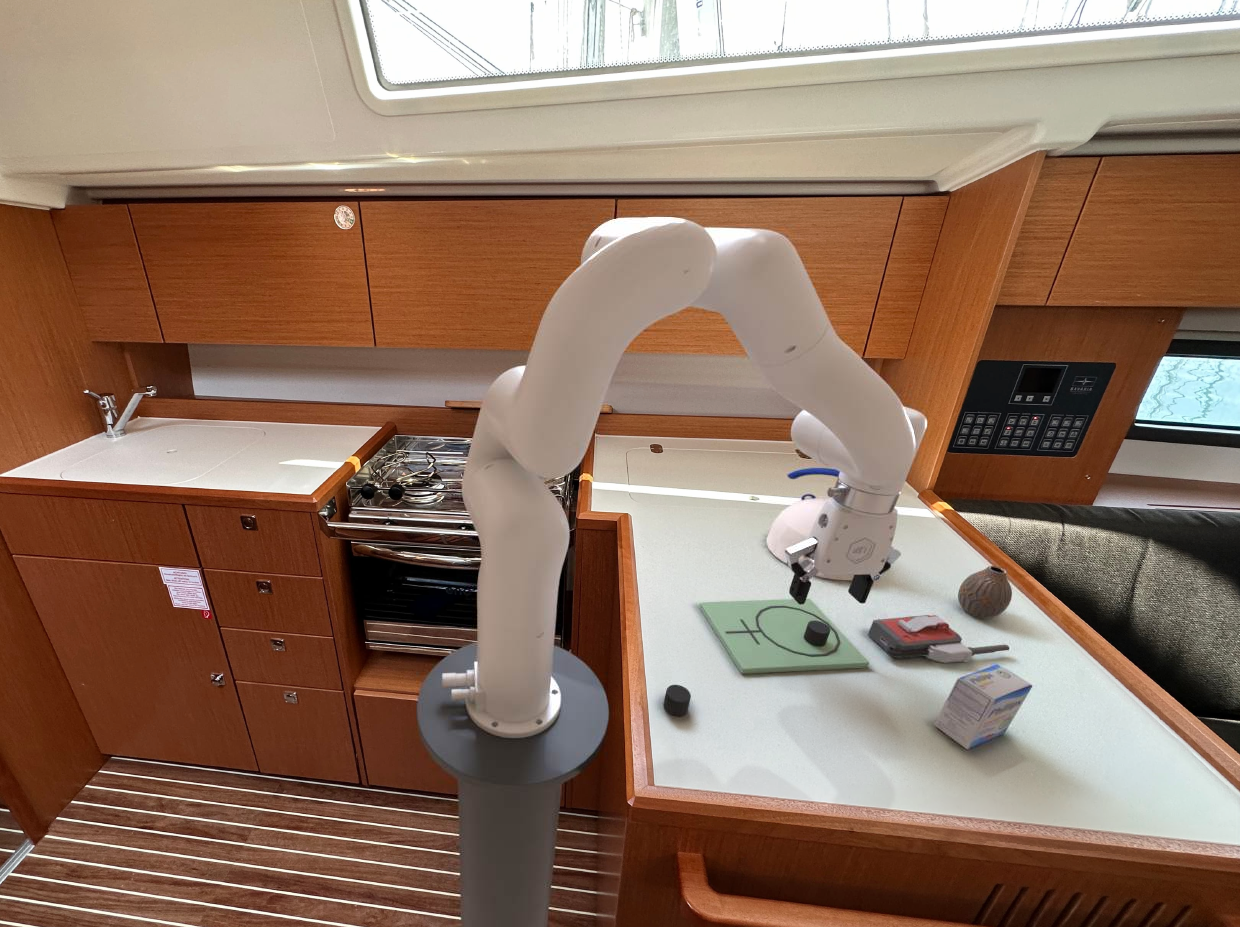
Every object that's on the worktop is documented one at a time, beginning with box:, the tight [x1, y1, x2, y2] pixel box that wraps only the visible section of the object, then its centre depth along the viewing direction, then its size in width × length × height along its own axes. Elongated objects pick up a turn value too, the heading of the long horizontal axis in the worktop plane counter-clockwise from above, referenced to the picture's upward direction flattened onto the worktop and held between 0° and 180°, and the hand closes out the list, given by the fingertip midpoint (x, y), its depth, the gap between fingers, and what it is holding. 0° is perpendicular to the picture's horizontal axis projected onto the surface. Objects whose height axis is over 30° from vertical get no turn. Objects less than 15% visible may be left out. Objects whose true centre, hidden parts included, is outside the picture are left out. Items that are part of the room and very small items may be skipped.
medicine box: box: [934, 663, 1033, 750], centre depth 72 cm, size 8×4×9 cm, turn 112°
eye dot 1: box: [663, 684, 692, 717], centre depth 75 cm, size 3×3×3 cm
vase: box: [957, 565, 1013, 619], centre depth 96 cm, size 7×7×9 cm
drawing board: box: [698, 598, 870, 675], centre depth 90 cm, size 20×16×1 cm
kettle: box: [765, 467, 854, 582], centre depth 109 cm, size 20×21×18 cm
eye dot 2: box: [804, 621, 830, 647], centre depth 87 cm, size 3×3×3 cm
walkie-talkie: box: [867, 614, 1010, 664], centre depth 88 cm, size 9×4×20 cm
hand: (826, 598), depth 84 cm, fingers open, 9 cm apart
